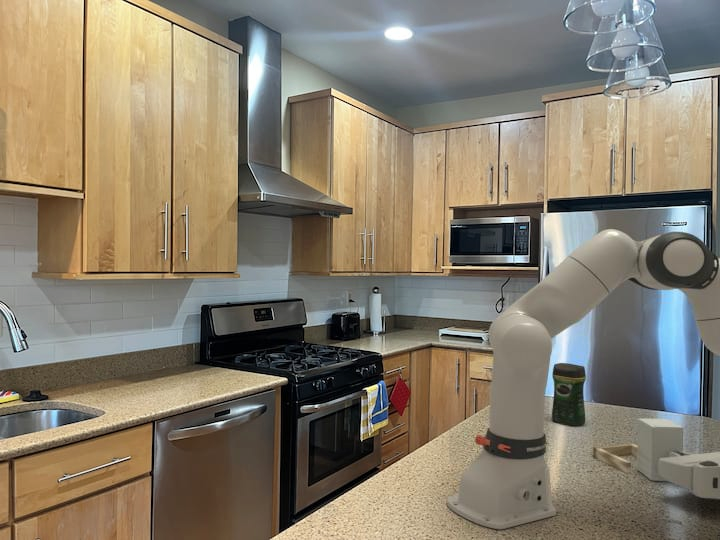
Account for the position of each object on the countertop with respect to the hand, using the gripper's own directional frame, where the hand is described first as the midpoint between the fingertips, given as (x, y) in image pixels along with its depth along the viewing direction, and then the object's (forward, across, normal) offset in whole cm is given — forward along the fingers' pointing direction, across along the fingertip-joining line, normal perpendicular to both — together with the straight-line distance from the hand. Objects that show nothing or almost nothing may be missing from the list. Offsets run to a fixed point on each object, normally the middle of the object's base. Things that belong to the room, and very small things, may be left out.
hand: (674, 454), depth 122 cm
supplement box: (+4, 0, +7) cm, 8 cm away
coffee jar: (+46, -8, +7) cm, 48 cm away
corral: (+12, 0, +6) cm, 14 cm away
